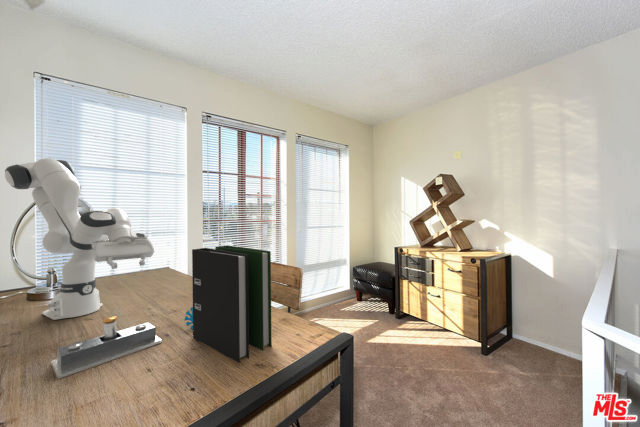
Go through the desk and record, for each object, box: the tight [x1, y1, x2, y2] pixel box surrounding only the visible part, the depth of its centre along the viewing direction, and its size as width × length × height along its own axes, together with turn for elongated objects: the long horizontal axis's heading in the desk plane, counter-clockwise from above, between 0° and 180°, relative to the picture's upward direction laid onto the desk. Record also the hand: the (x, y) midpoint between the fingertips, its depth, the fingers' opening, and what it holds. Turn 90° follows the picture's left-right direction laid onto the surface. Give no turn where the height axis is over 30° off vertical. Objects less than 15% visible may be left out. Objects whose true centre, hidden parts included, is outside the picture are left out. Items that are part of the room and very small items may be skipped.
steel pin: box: [102, 315, 118, 342], centre depth 86 cm, size 4×4×10 cm
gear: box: [184, 306, 193, 331], centre depth 107 cm, size 11×6×10 cm
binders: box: [191, 245, 273, 364], centre depth 93 cm, size 27×15×32 cm, turn 51°
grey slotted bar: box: [51, 322, 163, 380], centre depth 86 cm, size 26×12×6 cm, turn 141°
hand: (129, 266), depth 107 cm, fingers open, 8 cm apart
